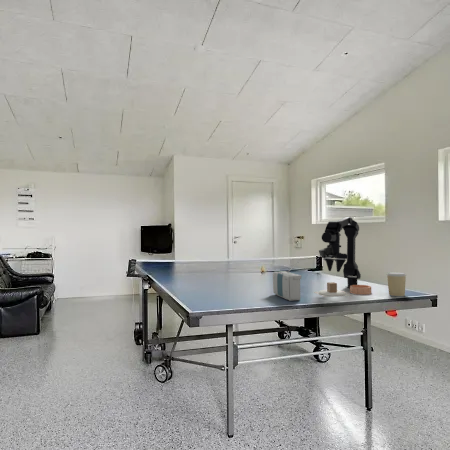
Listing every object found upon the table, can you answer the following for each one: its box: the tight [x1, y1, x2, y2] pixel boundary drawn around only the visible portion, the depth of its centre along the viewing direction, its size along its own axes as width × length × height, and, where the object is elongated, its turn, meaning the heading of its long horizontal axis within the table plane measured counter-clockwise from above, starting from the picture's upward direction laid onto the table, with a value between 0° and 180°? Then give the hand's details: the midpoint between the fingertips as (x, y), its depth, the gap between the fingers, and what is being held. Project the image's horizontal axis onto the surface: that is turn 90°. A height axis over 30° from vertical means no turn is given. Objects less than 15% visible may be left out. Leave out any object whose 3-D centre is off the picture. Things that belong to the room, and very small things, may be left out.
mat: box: [313, 291, 353, 298], centre depth 195 cm, size 16×16×1 cm
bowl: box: [349, 284, 372, 295], centre depth 197 cm, size 11×11×4 cm
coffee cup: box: [386, 271, 407, 298], centre depth 191 cm, size 9×9×12 cm
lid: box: [318, 281, 346, 297], centre depth 195 cm, size 14×14×6 cm
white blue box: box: [272, 261, 302, 302], centre depth 189 cm, size 21×8×20 cm, turn 14°
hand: (333, 271), depth 194 cm, fingers open, 9 cm apart
